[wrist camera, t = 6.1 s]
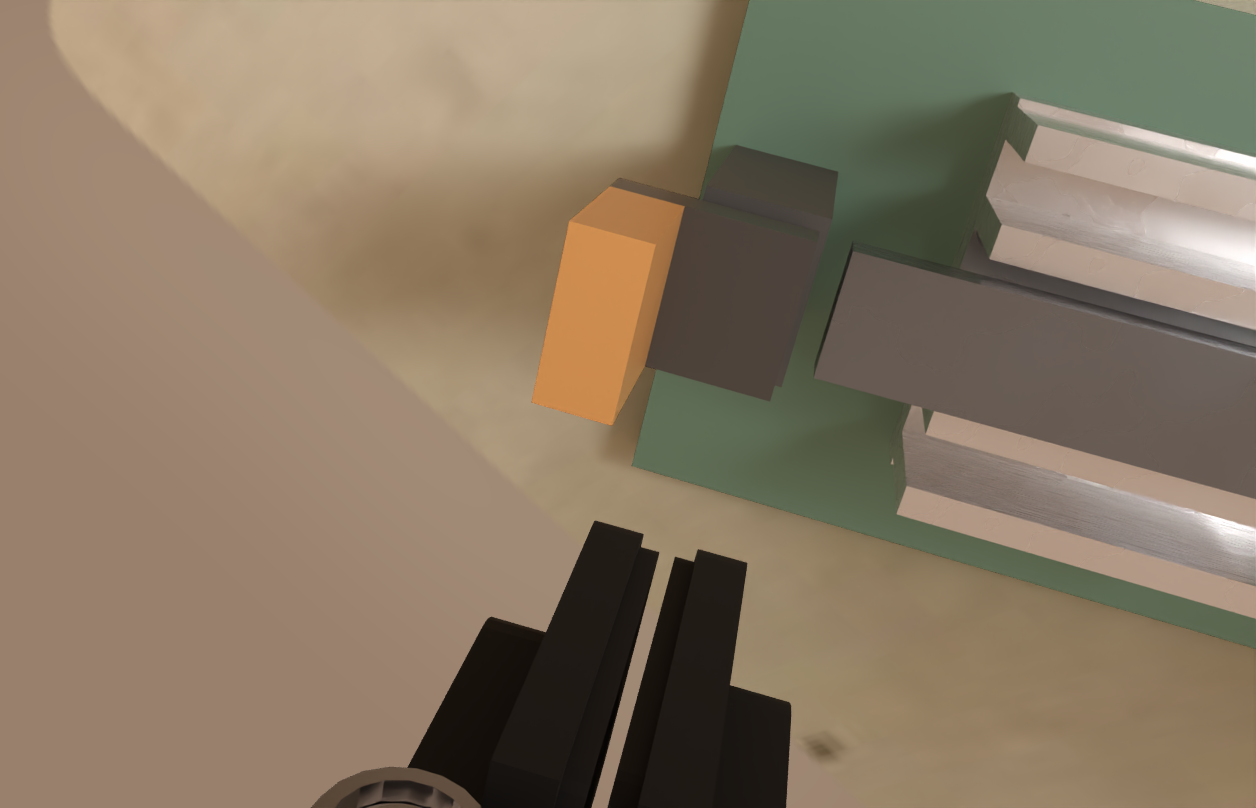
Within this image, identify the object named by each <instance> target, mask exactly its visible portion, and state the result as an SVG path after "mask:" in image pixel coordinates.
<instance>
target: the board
mask: <svg viewBox="0 0 1256 808" xmlns="http://www.w3.org/2000/svg"><path fill="white" fill-rule="evenodd" d="M1013 92H1015V93H1019V94H1023V95H1027V96H1031V97H1035V98H1039V99H1043V100H1047V101H1051V102H1054V103H1058V104H1062V105H1066V106H1070V107H1074V108H1078V109H1082V110H1086V111H1090V112H1094V113H1098V114H1102V115H1106V116H1110V117H1114V118H1118V119H1122V120H1126V121H1130V122H1134V123H1138V124H1142V125H1146V126H1150V127H1154V128H1157V129H1161V130H1165V131H1169V132H1173V133H1177V134H1181V135H1185V136H1189V137H1193V138H1197V139H1201V140H1205V141H1209V142H1213V143H1217V144H1221V145H1225V146H1229V147H1233V148H1237V149H1241V150H1245V151H1249V152H1253V153H1256V15H1253V14H1249V13H1245V12H1241V11H1236V10H1232V9H1228V8H1224V7H1220V6H1216V5H1212V4H1207V3H1203V2H1199V1H1195V0H749V4H748V8H747V12H746V16H745V20H744V24H743V28H742V32H741V36H740V40H739V44H738V47H737V51H736V55H735V59H734V63H733V67H732V71H731V75H730V79H729V83H728V87H727V91H726V95H725V99H724V103H723V107H722V111H721V115H720V119H719V123H718V127H717V131H716V135H715V138H714V142H713V146H712V150H711V154H710V158H709V162H708V166H707V170H706V174H705V178H704V182H703V186H702V190H701V194H700V198H699V199H700V200H703V201H707V202H711V203H715V204H718V205H722V206H726V207H730V208H733V209H737V210H741V211H744V212H748V213H752V214H756V215H759V216H763V217H767V218H771V219H774V220H778V221H782V222H785V223H789V224H793V225H797V226H800V227H804V228H808V229H811V230H815V231H819V238H818V243H817V247H816V250H815V253H814V257H813V260H812V263H811V267H810V270H809V273H808V277H807V280H806V283H805V287H804V290H803V293H802V297H801V300H800V303H799V307H798V310H797V313H796V317H795V320H794V323H793V327H792V330H791V333H790V337H789V340H788V343H787V347H786V350H785V353H784V357H783V360H782V363H781V367H780V370H779V373H778V377H777V380H776V383H775V387H774V390H773V393H772V397H771V400H770V402H769V401H766V400H762V399H759V398H755V397H752V396H748V395H745V394H741V393H738V392H734V391H731V390H727V389H724V388H720V387H717V386H713V385H710V384H706V383H703V382H699V381H695V380H692V379H688V378H685V377H681V376H678V375H674V374H671V373H667V372H664V371H660V370H657V369H656V372H655V376H654V380H653V384H652V388H651V392H650V396H649V400H648V404H647V408H646V412H645V415H644V419H643V423H642V427H641V431H640V435H639V439H638V443H637V447H636V451H635V455H634V459H633V463H632V466H634V467H637V468H641V469H644V470H647V471H651V472H654V473H658V474H661V475H664V476H668V477H671V478H675V479H678V480H681V481H685V482H688V483H692V484H695V485H699V486H702V487H705V488H709V489H712V490H716V491H719V492H722V493H726V494H729V495H733V496H736V497H740V498H743V499H746V500H750V501H753V502H757V503H760V504H763V505H767V506H770V507H774V508H777V509H780V510H784V511H787V512H791V513H794V514H798V515H801V516H804V517H808V518H811V519H815V520H818V521H821V522H825V523H828V524H832V525H835V526H838V527H842V528H845V529H849V530H852V531H856V532H859V533H862V534H866V535H869V536H873V537H876V538H879V539H883V540H886V541H890V542H893V543H896V544H900V545H903V546H907V547H910V548H914V549H917V550H920V551H924V552H927V553H931V554H934V555H937V556H941V557H944V558H948V559H951V560H954V561H958V562H961V563H965V564H968V565H972V566H975V567H978V568H982V569H985V570H989V571H992V572H995V573H999V574H1002V575H1006V576H1009V577H1013V578H1016V579H1019V580H1023V581H1026V582H1030V583H1033V584H1036V585H1040V586H1043V587H1047V588H1050V589H1053V590H1057V591H1060V592H1064V593H1067V594H1071V595H1074V596H1077V597H1081V598H1084V599H1088V600H1091V601H1094V602H1098V603H1101V604H1105V605H1108V606H1111V607H1115V608H1118V609H1122V610H1125V611H1129V612H1132V613H1135V614H1139V615H1142V616H1146V617H1149V618H1152V619H1156V620H1159V621H1163V622H1166V623H1169V624H1173V625H1176V626H1180V627H1183V628H1187V629H1190V630H1193V631H1197V632H1200V633H1204V634H1207V635H1210V636H1214V637H1217V638H1221V639H1224V640H1228V641H1231V642H1234V643H1238V644H1241V645H1245V646H1248V647H1251V648H1255V649H1256V619H1255V618H1252V617H1248V616H1245V615H1241V614H1238V613H1235V612H1231V611H1228V610H1224V609H1221V608H1217V607H1214V606H1210V605H1207V604H1204V603H1200V602H1197V601H1193V600H1190V599H1186V598H1183V597H1179V596H1176V595H1173V594H1169V593H1166V592H1162V591H1159V590H1155V589H1152V588H1149V587H1145V586H1142V585H1138V584H1135V583H1131V582H1128V581H1124V580H1121V579H1118V578H1114V577H1111V576H1107V575H1104V574H1100V573H1097V572H1093V571H1090V570H1087V569H1083V568H1080V567H1076V566H1073V565H1069V564H1066V563H1062V562H1059V561H1056V560H1052V559H1049V558H1045V557H1042V556H1038V555H1035V554H1032V553H1028V552H1025V551H1021V550H1018V549H1014V548H1011V547H1007V546H1004V545H1001V544H997V543H994V542H990V541H987V540H983V539H980V538H976V537H973V536H970V535H966V534H963V533H959V532H956V531H952V530H949V529H945V528H942V527H939V526H935V525H932V524H928V523H925V522H921V521H918V520H914V519H911V518H908V517H904V516H901V515H897V514H896V499H895V482H894V465H893V464H891V459H890V440H891V438H892V435H893V432H894V429H895V426H896V423H897V421H898V418H899V415H900V412H901V409H902V406H903V402H899V401H896V400H892V399H888V398H885V397H881V396H878V395H874V394H870V393H867V392H863V391H859V390H856V389H852V388H848V387H845V386H841V385H837V384H834V383H830V382H826V381H823V380H819V379H816V378H813V377H814V363H815V360H816V357H817V354H818V350H819V347H820V344H821V341H822V338H823V334H824V331H825V328H826V325H827V321H828V318H829V315H830V312H831V309H832V305H833V302H834V299H835V296H836V293H837V289H838V286H839V283H840V280H841V277H842V273H843V270H844V267H845V264H846V261H847V257H848V254H849V251H850V248H851V245H852V241H856V242H860V243H864V244H868V245H871V246H875V247H879V248H883V249H887V250H890V251H894V252H898V253H902V254H905V255H909V256H913V257H917V258H921V259H924V260H928V261H932V262H936V263H940V264H943V265H947V266H951V267H952V264H953V261H954V258H955V255H956V253H957V250H958V247H959V244H960V241H961V238H962V235H963V233H964V230H965V227H966V224H967V221H968V218H969V215H970V213H971V210H972V207H973V204H974V201H975V198H976V196H977V193H978V190H979V187H980V184H981V181H982V178H983V176H984V173H985V170H986V167H987V164H988V161H989V159H990V156H991V153H992V150H993V147H994V144H995V141H996V139H997V136H998V133H999V130H1000V127H1001V124H1002V121H1003V119H1004V116H1005V113H1006V110H1007V107H1008V104H1009V102H1010V99H1011V96H1012V93H1013Z"/></svg>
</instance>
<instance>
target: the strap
mask: <svg viewBox="0 0 1256 808" xmlns="http://www.w3.org/2000/svg"><path fill="white" fill-rule="evenodd" d="M813 378H816V379H819V380H823V381H826V382H830V383H834V384H837V385H841V386H845V387H848V388H852V389H856V390H859V391H863V392H867V393H870V394H874V395H878V396H881V397H885V398H888V399H892V400H896V401H899V402H903V403H907V404H910V405H914V406H918V407H921V408H925V409H929V410H932V411H936V412H940V413H943V414H947V415H950V416H954V417H958V418H961V419H965V420H969V421H972V422H976V423H980V424H983V425H987V426H991V427H994V428H998V429H1002V430H1005V431H1009V432H1012V433H1016V434H1020V435H1023V436H1027V437H1031V438H1034V439H1038V440H1042V441H1045V442H1049V443H1053V444H1056V445H1060V446H1064V447H1067V448H1071V449H1074V450H1078V451H1082V452H1085V453H1089V454H1093V455H1096V456H1100V457H1104V458H1107V459H1111V460H1115V461H1118V462H1122V463H1126V464H1129V465H1133V466H1136V467H1140V468H1144V469H1147V470H1151V471H1155V472H1158V473H1162V474H1166V475H1169V476H1173V477H1177V478H1180V479H1184V480H1187V481H1191V482H1195V483H1198V484H1202V485H1206V486H1209V487H1213V488H1217V489H1220V490H1224V491H1228V492H1231V493H1235V494H1239V495H1242V496H1246V497H1249V498H1253V499H1256V347H1254V346H1250V345H1246V344H1243V343H1239V342H1235V341H1231V340H1227V339H1224V338H1220V337H1216V336H1212V335H1208V334H1205V333H1201V332H1197V331H1193V330H1189V329H1186V328H1182V327H1178V326H1174V325H1171V324H1167V323H1163V322H1159V321H1155V320H1152V319H1148V318H1144V317H1140V316H1136V315H1133V314H1129V313H1125V312H1121V311H1118V310H1114V309H1110V308H1106V307H1102V306H1099V305H1095V304H1091V303H1087V302H1083V301H1080V300H1076V299H1072V298H1068V297H1065V296H1061V295H1057V294H1053V293H1049V292H1046V291H1042V290H1038V289H1034V288H1030V287H1027V286H1023V285H1019V284H1015V283H1012V282H1008V281H1004V280H1000V279H996V278H993V277H989V276H985V275H981V274H977V273H974V272H970V271H966V270H962V269H958V268H955V267H951V266H947V265H943V264H940V263H936V262H932V261H928V260H924V259H921V258H917V257H913V256H909V255H905V254H902V253H898V252H894V251H890V250H887V249H883V248H879V247H875V246H871V245H868V244H864V243H860V242H856V241H852V245H851V248H850V251H849V254H848V257H847V261H846V264H845V267H844V270H843V273H842V277H841V280H840V283H839V286H838V289H837V293H836V296H835V299H834V302H833V305H832V309H831V312H830V315H829V318H828V321H827V325H826V328H825V331H824V334H823V338H822V341H821V344H820V347H819V350H818V354H817V357H816V360H815V363H814V377H813Z"/></svg>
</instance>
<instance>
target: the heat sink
mask: <svg viewBox="0 0 1256 808" xmlns="http://www.w3.org/2000/svg"><path fill="white" fill-rule="evenodd" d="M952 267H955V268H958V269H962V270H966V271H970V272H974V273H977V274H981V275H985V276H989V277H993V278H996V279H1000V280H1004V281H1008V282H1012V283H1015V284H1019V285H1023V286H1027V287H1030V288H1034V289H1038V290H1042V291H1046V292H1049V293H1053V294H1057V295H1061V296H1065V297H1068V298H1072V299H1076V300H1080V301H1083V302H1087V303H1091V304H1095V305H1099V306H1102V307H1106V308H1110V309H1114V310H1118V311H1121V312H1125V313H1129V314H1133V315H1136V316H1140V317H1144V318H1148V319H1152V320H1155V321H1159V322H1163V323H1167V324H1171V325H1174V326H1178V327H1182V328H1186V329H1189V330H1193V331H1197V332H1201V333H1205V334H1208V335H1212V336H1216V337H1220V338H1224V339H1227V340H1231V341H1235V342H1239V343H1243V344H1246V345H1250V346H1254V347H1256V153H1253V152H1249V151H1245V150H1241V149H1237V148H1233V147H1229V146H1225V145H1221V144H1217V143H1213V142H1209V141H1205V140H1201V139H1197V138H1193V137H1189V136H1185V135H1181V134H1177V133H1173V132H1169V131H1165V130H1161V129H1157V128H1154V127H1150V126H1146V125H1142V124H1138V123H1134V122H1130V121H1126V120H1122V119H1118V118H1114V117H1110V116H1106V115H1102V114H1098V113H1094V112H1090V111H1086V110H1082V109H1078V108H1074V107H1070V106H1066V105H1062V104H1058V103H1054V102H1051V101H1047V100H1043V99H1039V98H1035V97H1031V96H1027V95H1023V94H1019V93H1015V92H1013V93H1012V96H1011V99H1010V102H1009V104H1008V107H1007V110H1006V113H1005V116H1004V119H1003V121H1002V124H1001V127H1000V130H999V133H998V136H997V139H996V141H995V144H994V147H993V150H992V153H991V156H990V159H989V161H988V164H987V167H986V170H985V173H984V176H983V178H982V181H981V184H980V187H979V190H978V193H977V196H976V198H975V201H974V204H973V207H972V210H971V213H970V215H969V218H968V221H967V224H966V227H965V230H964V233H963V235H962V238H961V241H960V244H959V247H958V250H957V253H956V255H955V258H954V261H953V264H952ZM890 459H891V464H893V465H894V482H895V499H896V514H897V515H901V516H904V517H908V518H911V519H914V520H918V521H921V522H925V523H928V524H932V525H935V526H939V527H942V528H945V529H949V530H952V531H956V532H959V533H963V534H966V535H970V536H973V537H976V538H980V539H983V540H987V541H990V542H994V543H997V544H1001V545H1004V546H1007V547H1011V548H1014V549H1018V550H1021V551H1025V552H1028V553H1032V554H1035V555H1038V556H1042V557H1045V558H1049V559H1052V560H1056V561H1059V562H1062V563H1066V564H1069V565H1073V566H1076V567H1080V568H1083V569H1087V570H1090V571H1093V572H1097V573H1100V574H1104V575H1107V576H1111V577H1114V578H1118V579H1121V580H1124V581H1128V582H1131V583H1135V584H1138V585H1142V586H1145V587H1149V588H1152V589H1155V590H1159V591H1162V592H1166V593H1169V594H1173V595H1176V596H1179V597H1183V598H1186V599H1190V600H1193V601H1197V602H1200V603H1204V604H1207V605H1210V606H1214V607H1217V608H1221V609H1224V610H1228V611H1231V612H1235V613H1238V614H1241V615H1245V616H1248V617H1252V618H1255V619H1256V499H1253V498H1249V497H1246V496H1242V495H1239V494H1235V493H1231V492H1228V491H1224V490H1220V489H1217V488H1213V487H1209V486H1206V485H1202V484H1198V483H1195V482H1191V481H1187V480H1184V479H1180V478H1177V477H1173V476H1169V475H1166V474H1162V473H1158V472H1155V471H1151V470H1147V469H1144V468H1140V467H1136V466H1133V465H1129V464H1126V463H1122V462H1118V461H1115V460H1111V459H1107V458H1104V457H1100V456H1096V455H1093V454H1089V453H1085V452H1082V451H1078V450H1074V449H1071V448H1067V447H1064V446H1060V445H1056V444H1053V443H1049V442H1045V441H1042V440H1038V439H1034V438H1031V437H1027V436H1023V435H1020V434H1016V433H1012V432H1009V431H1005V430H1002V429H998V428H994V427H991V426H987V425H983V424H980V423H976V422H972V421H969V420H965V419H961V418H958V417H954V416H950V415H947V414H943V413H940V412H936V411H932V410H929V409H925V408H921V407H918V406H914V405H910V404H907V403H903V406H902V409H901V412H900V415H899V418H898V421H897V423H896V426H895V429H894V432H893V435H892V438H891V440H890Z"/></svg>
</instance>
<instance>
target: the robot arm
mask: <svg viewBox="0 0 1256 808" xmlns="http://www.w3.org/2000/svg"><path fill="white" fill-rule="evenodd" d="M643 535H644V534H642V533H638V532H634V531H631V530H627V529H624V528H620V527H616V526H613V525H609V524H606V523H602V522H598V521H594V523H593V525H592V527H591V530H590V532H589V534H588V537H587V539H586V541H585V544H584V546H583V548H582V551H581V553H580V555H579V557H578V560H577V562H576V564H575V567H574V569H573V571H572V574H571V576H570V578H569V581H568V583H567V585H566V587H565V590H564V592H563V594H562V597H561V599H560V601H559V604H558V606H557V608H556V611H555V613H554V615H553V617H552V620H551V622H550V624H549V627H548V629H547V631H546V632H543V631H539V630H535V629H532V628H529V627H525V626H521V625H518V624H515V623H511V622H508V621H504V620H501V619H497V618H494V617H490V618H488V619H487V621H486V622H485V624H484V625H483V627H482V629H481V631H480V632H479V634H478V636H477V638H476V640H475V642H474V644H473V646H472V647H471V649H470V651H469V653H468V655H467V657H466V659H465V661H464V662H463V664H462V666H461V668H460V670H459V672H458V674H457V676H456V678H455V679H454V681H453V683H452V685H451V687H450V689H449V691H448V692H447V694H446V696H445V698H444V700H443V702H442V704H441V706H440V708H439V709H438V711H437V713H436V715H435V717H434V719H433V721H432V722H431V724H430V726H429V728H428V730H427V732H426V734H425V736H424V737H423V739H422V741H421V743H420V745H419V747H418V749H417V751H416V753H415V754H414V756H413V758H412V760H411V762H410V764H409V766H408V767H407V768H401V767H385V768H380V769H373V770H367V771H362V772H360V773H358V774H355V775H353V776H350V777H348V778H346V779H343V780H341V781H339V782H338V783H337V784H335V785H334V786H333V787H332V788H331V789H329V790H328V791H327V792H326V793H324V794H323V795H322V796H321V797H320V798H319V799H318V800H317V801H316V802H315V804H314V805H313V806H312V807H311V808H591V807H592V803H593V800H594V797H595V793H596V790H597V786H598V783H599V779H600V776H601V772H602V768H603V765H604V761H605V757H606V754H607V750H608V746H609V742H610V739H611V735H612V731H613V727H614V723H615V719H616V716H617V712H618V708H619V704H620V701H621V697H622V693H623V689H624V685H625V682H626V677H627V674H628V670H629V666H630V663H631V658H632V655H633V651H634V647H635V643H636V639H637V636H638V632H639V628H640V624H641V621H642V616H643V613H644V609H645V606H646V602H647V598H648V594H649V590H650V587H651V583H652V579H653V575H654V571H655V568H656V564H657V560H658V556H659V552H656V551H653V550H649V549H645V548H642V547H641V544H642V540H643ZM746 570H747V563H746V562H742V561H739V560H735V559H731V558H728V557H724V556H721V555H717V554H713V553H710V552H706V551H703V550H699V549H698V551H697V554H696V557H695V561H694V562H692V561H688V560H685V559H681V558H678V557H675V559H674V563H673V567H672V570H671V574H670V578H669V581H668V585H667V589H666V593H665V596H664V600H663V604H662V607H661V611H660V615H659V618H658V622H657V626H656V630H655V633H654V637H653V641H652V644H651V649H650V652H649V656H648V659H647V663H646V667H645V671H644V674H643V678H642V681H641V685H640V689H639V693H638V696H637V700H636V704H635V707H634V711H633V715H632V719H631V722H630V726H629V730H628V733H627V737H626V741H625V744H624V748H623V752H622V756H621V759H620V763H619V767H618V770H617V774H616V778H615V782H614V786H613V789H612V793H611V796H610V800H609V805H608V808H786V799H787V798H786V797H787V780H788V763H789V762H788V761H789V746H790V728H791V705H790V703H789V702H786V701H783V700H779V699H776V698H773V697H769V696H766V695H762V694H759V693H755V692H752V691H748V690H745V689H741V688H738V687H734V686H731V685H730V680H731V673H732V667H733V660H734V653H735V646H736V639H737V632H738V625H739V618H740V611H741V604H742V598H743V591H744V584H745V577H746Z"/></svg>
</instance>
